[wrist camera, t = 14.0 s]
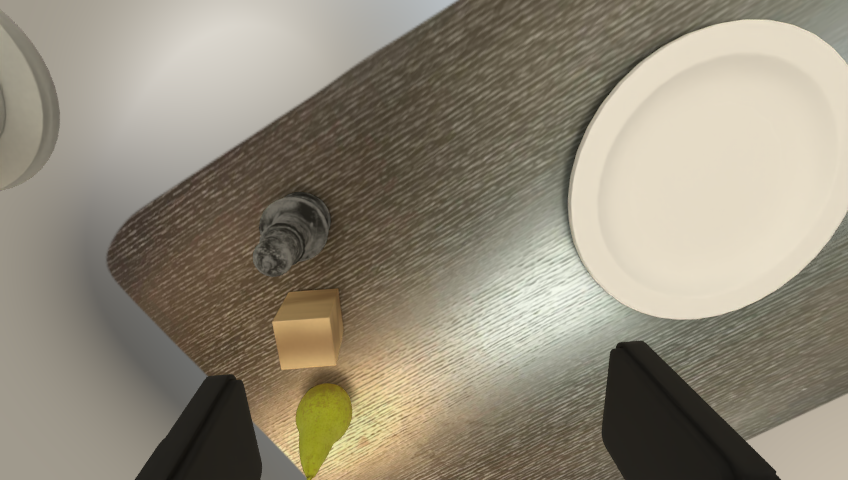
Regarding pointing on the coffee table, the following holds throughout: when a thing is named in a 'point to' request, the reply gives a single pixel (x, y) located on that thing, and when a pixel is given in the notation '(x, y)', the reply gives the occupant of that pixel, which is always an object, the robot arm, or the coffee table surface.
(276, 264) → the grey chess bishop
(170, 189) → the coffee table surface
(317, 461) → the fruit
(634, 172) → the plate
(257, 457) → the robot arm
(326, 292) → the maple block
